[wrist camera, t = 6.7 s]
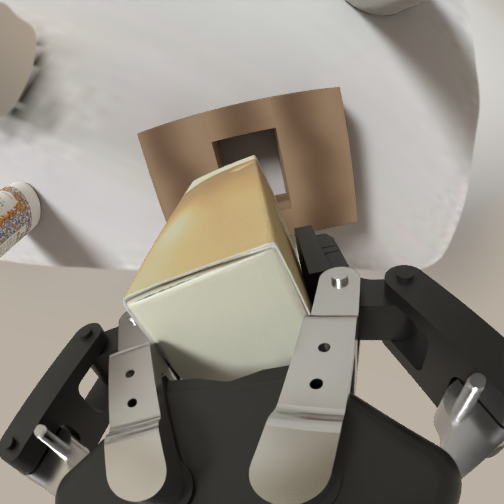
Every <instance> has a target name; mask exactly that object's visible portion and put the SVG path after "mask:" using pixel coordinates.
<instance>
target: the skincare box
mask: <svg viewBox="0 0 504 504" xmlns="http://www.w3.org/2000/svg"><path fill="white" fill-rule="evenodd" d="M123 306H124V307H125V309H126V310H127V312H128V313H129V314H130V315H131V317H132V318H133V319H134V320H135V322H136V323H137V324H138V326H139V327H140V328H141V330H142V331H143V332H144V333H145V334H146V336H147V337H148V338H149V339H150V340H152V341H153V342H156V344H157V345H158V347H159V349H160V350H161V352H162V354H163V356H164V357H165V359H166V360H167V361H168V362H169V364H170V365H171V366H172V368H173V369H174V370H175V372H176V373H177V374H178V375H179V376H180V377H181V378H182V379H194V378H198V379H207V380H216V381H232V380H235V379H238V378H241V377H244V376H247V375H250V374H252V373H255V372H258V371H261V370H264V369H270V368H276V367H282V366H287V365H290V362H291V359H292V356H293V352H294V349H295V346H296V342H297V339H298V335H299V332H300V328H301V325H302V321H303V318H304V316H305V315H311V311H312V307H313V306H312V302H311V299H310V296H309V293H308V290H307V287H306V283H305V280H304V277H303V274H302V270H301V267H300V264H299V261H298V258H297V255H296V252H295V249H294V246H293V243H292V240H291V237H290V234H289V232H288V229H287V226H286V223H285V221H284V218H283V216H282V213H281V211H280V208H279V206H278V203H277V201H276V198H275V196H274V194H273V191H272V189H271V187H270V185H269V183H268V181H267V178H266V176H265V174H264V172H263V170H262V168H261V166H260V164H259V162H258V160H257V158H256V156H255V155H252V156H250V157H247V158H244V159H242V160H239V161H237V162H234V163H232V164H229V165H227V166H224V167H222V168H220V169H217V170H215V171H213V172H211V173H209V174H206V175H204V176H202V177H200V178H198V179H196V180H194V181H193V182H192V184H191V185H190V187H189V188H188V190H187V191H186V193H185V194H184V196H183V197H182V199H181V201H180V202H179V204H178V206H177V207H176V209H175V210H174V212H173V213H172V215H171V217H170V218H169V220H168V221H167V223H166V225H165V226H164V228H163V230H162V231H161V233H160V235H159V236H158V238H157V240H156V241H155V243H154V245H153V246H152V248H151V250H150V252H149V253H148V255H147V257H146V259H145V260H144V262H143V264H142V265H141V267H140V269H139V271H138V273H137V274H136V276H135V278H134V280H133V281H132V283H131V285H130V287H129V289H128V291H127V293H126V294H125V297H124V298H123Z"/></svg>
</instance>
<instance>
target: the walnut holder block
mask: <svg viewBox="0 0 504 504" xmlns="http://www.w3.org/2000/svg"><path fill="white" fill-rule="evenodd" d="M271 128H273V132H274V137H275V141H276V146H277V150H278V155H279V160H280V165H281V170H282V175H283V180H284V185H285V190H286V194H281V195H276V196H275V198H276V201H277V203H278V206H279V208H280V211H281V213H282V216H283V218H284V221H285V223H286V226H287V229H288V232H289V234H290V235H295V232H294V228H298V227H303V226H308V225H311V226H312V228H313V230H314V231H315V230H320V229H325V228H329V227H334V226H339V225H344V224H349V223H354V222H358V219H357V207H356V196H355V186H354V177H353V168H352V160H351V152H350V145H349V138H348V132H347V125H346V119H345V113H344V108H343V102H342V97H341V92H340V87H335V88H325V89H317V90H310V91H303V92H296V93H290V94H284V95H279V96H273V97H268V98H263V99H258V100H253V101H248V102H244V103H239V104H235V105H231V106H227V107H223V108H219V109H215V110H211V111H207V112H204V113H200V114H196V115H193V116H189V117H186V118H183V119H179V120H176V121H173V122H170V123H166V124H163V125H160V126H157V127H154V128H151V129H149V130H146V131H143V132H141V133H138V138H139V141H140V144H141V147H142V151H143V154H144V157H145V160H146V163H147V167H148V170H149V173H150V176H151V179H152V182H153V185H154V188H155V191H156V194H157V197H158V200H159V202H160V205H161V208H162V211H163V214H164V217H165V219H166V222H167V221H168V220H169V218H170V217H171V215H172V213H173V212H174V210H175V209H176V207H177V206H178V204H179V202H180V201H181V199H182V197H183V196H184V194H185V193H186V191H187V190H188V188H189V187H190V185H191V184H192V182H193V181H194V180H196V179H198V178H200V177H202V176H204V175H206V174H209V173H211V172H213V171H215V170H217V169H220V168H222V167H224V163H223V159H222V155H221V151H220V147H219V144H218V140H222V139H226V138H230V137H234V136H239V135H243V134H248V133H252V132H257V131H261V130H266V129H271Z"/></svg>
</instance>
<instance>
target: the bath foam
mask: <svg viewBox="0 0 504 504" xmlns="http://www.w3.org/2000/svg"><path fill="white" fill-rule="evenodd" d="M40 215H41V207H40V202H39V199H38V196H37V194H36V192H35V191H34V189H33V188H32V187H31V186H30V185H28V184H27V183H25V182H21V181H18V182H14V183H12V184H10V185H8V186H7V187H5V188H3V189H1V190H0V257H1V256H2V255H4V254H5V253H6V252H7V251H8V250H9V249H10V248H11V247H12V246H14V245H15V244H16V243H17V242H18V241H19V240H20V239H22V238H23V237H24V236H25V235H26V234H27V233H28V232H30V231H31V230H32V229H33V228H34V227H35V226H36V225H37V224H38V222H39V219H40Z"/></svg>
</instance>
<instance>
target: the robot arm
mask: <svg viewBox="0 0 504 504" xmlns="http://www.w3.org/2000/svg"><path fill="white" fill-rule="evenodd" d="M346 1H347V2H349V3H350V4H351V5H353V6H354V7H356V8H358V9H360V10H362V11H364V12H367V13H369V14H374V15H380V16H387V15H393V14H395V13H398V12H400V11H402V10H405V9H407V8H410V7H413V6H415V5H418V4H420V3H423V2H425V1H428V0H346ZM294 232H295V237H296V243H297V248H298V254H299V260H300V265H301V270H302V274H303V277H304V280H305V283H306V287H307V290H308V293H309V296H310V299H311V302H312V306H313V307H312V311H311V315H305V316H304V318H303V321H302V325H301V328H300V332H299V335H298V339H297V342H296V346H295V349H294V352H293V356H292V359H291V362H290V365H287V366H282V367H276V368H270V369H264V370H261V371H258V372H255V373H252V374H250V375H247V376H244V377H241V378H238V379H235V380H232V381H216V380H207V379H198V378H194V379H182V378H181V377H180V376H179V375H178V374H177V373H176V372H175V370H174V369H173V368H172V366H171V365H170V364H169V362H168V361H167V360H166V359H165V357H164V356H163V354H162V352H161V350H160V349H159V347H158V345H157V344H156V342H153V341H152V340H150V339H149V338H148V337H147V336H146V334H145V333H144V332H143V331H142V330H141V328H140V327H139V326H138V324H137V323H136V322H135V320H134V319H133V318H132V317H131V315H130V314H129V313H128V312H127V311H126V312H125V313H124V314H123V315H122V316H121V318H120V320H119V326H118V327H116V328H113V329H111V330H108V331H105V332H104V331H103V329H102V327H101V326H100V325H99V324H98V323H92V324H88V325H86V326H84V327H82V328H81V329H80V330H79V331H78V332H77V333H76V334H75V335H74V336H73V338H72V339H71V340H70V341H69V343H68V344H67V345H66V347H65V348H64V349H63V350H62V352H61V353H60V354H59V356H58V357H57V358H56V360H55V361H54V362H53V364H52V365H51V366H50V368H49V369H48V371H47V372H46V373H45V375H44V376H43V377H42V379H41V380H40V381H39V383H38V384H37V386H36V387H35V388H34V390H33V391H32V393H31V394H30V396H29V397H28V398H27V400H26V401H25V403H24V404H23V406H22V407H21V409H20V411H19V412H18V413H17V415H16V416H15V418H14V419H13V421H12V422H11V424H10V426H9V427H8V429H7V430H6V432H5V434H4V435H3V437H2V438H1V441H0V457H1V458H2V459H3V460H4V461H5V462H7V463H8V464H10V465H11V466H12V467H14V468H15V469H17V470H18V471H19V472H20V473H21V474H23V475H24V476H26V477H27V478H28V479H30V480H32V481H33V482H35V483H36V484H38V485H40V486H41V487H43V488H45V489H46V490H48V491H49V492H50V493H51V494H53V495H54V496H55V497H56V498H55V504H458V503H459V499H460V495H461V485H462V484H461V479H462V478H463V477H464V476H466V475H467V474H468V473H469V472H471V471H472V470H473V469H474V468H475V467H476V466H478V465H479V464H480V463H481V462H482V461H483V460H484V459H485V458H490V457H493V456H494V455H496V454H497V453H499V451H501V450H502V449H503V448H504V337H503V336H502V335H500V334H499V333H498V332H497V331H495V329H493V328H492V327H491V326H490V325H489V324H488V323H486V322H485V321H484V320H483V319H482V318H480V317H479V316H478V315H477V314H476V313H475V312H473V311H472V310H471V309H470V308H468V307H467V306H466V305H465V304H464V303H462V302H461V301H460V300H459V299H457V298H456V297H455V296H454V295H452V294H451V293H450V292H448V291H447V290H446V289H444V288H443V287H442V286H441V285H439V284H438V283H437V282H435V281H434V280H433V279H431V278H430V277H429V276H428V275H426V274H425V273H423V272H422V271H421V270H419V269H418V268H416V267H413V266H408V265H401V266H396V267H393V268H391V269H389V270H388V271H387V272H386V274H385V279H383V280H369V279H363V278H360V275H359V273H358V272H357V271H356V270H354V269H352V268H349V266H348V264H347V262H346V260H345V259H344V257H343V255H342V253H341V251H340V249H339V247H338V246H337V244H336V242H335V240H334V238H332V237H331V236H329V235H327V234H326V233H325V234H321V235H315V232H314V230H313V228H312V226H311V225H308V226H303V227H298V228H294ZM360 340H382V341H383V343H384V345H385V346H386V347H387V348H388V349H389V350H390V351H391V353H392V354H393V355H394V356H395V357H396V358H397V360H398V361H399V362H400V363H401V364H402V366H403V367H404V368H405V369H406V370H407V372H408V373H409V374H410V375H411V376H412V377H413V379H414V380H415V381H416V382H417V383H418V385H419V386H420V387H421V388H422V389H423V391H424V392H425V393H426V394H427V395H428V397H429V398H430V399H431V400H432V402H433V403H434V404H435V405H436V407H437V408H438V409H437V410H436V413H435V416H434V425H435V428H436V430H437V432H438V434H439V437H440V447H439V446H437V445H435V444H434V443H432V442H430V441H428V440H427V439H425V438H423V437H422V436H420V435H418V434H416V433H415V432H413V431H411V430H410V429H408V428H407V427H405V426H403V425H402V424H400V423H398V422H397V421H395V420H393V419H392V418H390V417H389V416H387V415H385V414H384V413H382V412H381V411H379V410H377V409H376V408H374V407H373V406H371V405H369V404H368V403H366V402H365V401H363V400H362V399H360V398H359V397H357V396H356V395H355V392H356V381H357V371H358V361H359V351H360ZM90 367H91V368H92V369H93V370H94V372H95V373H96V374H97V375H98V377H99V378H98V379H97V381H96V383H95V384H94V386H93V387H92V389H91V391H90V392H89V394H88V395H87V397H86V398H85V400H84V399H83V398H82V396H81V395H80V394H79V390H78V387H79V384H80V382H81V380H82V379H83V377H84V376H85V374H86V373H87V371H88V370H89V368H90ZM109 423H110V431H109V434H107V435H106V437H105V439H103V440H102V441H101V442H100V443H99V441H100V439H101V437H102V435H103V434H104V432H105V430H106V428H107V426H108V424H109ZM98 443H99V444H98Z"/></svg>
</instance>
